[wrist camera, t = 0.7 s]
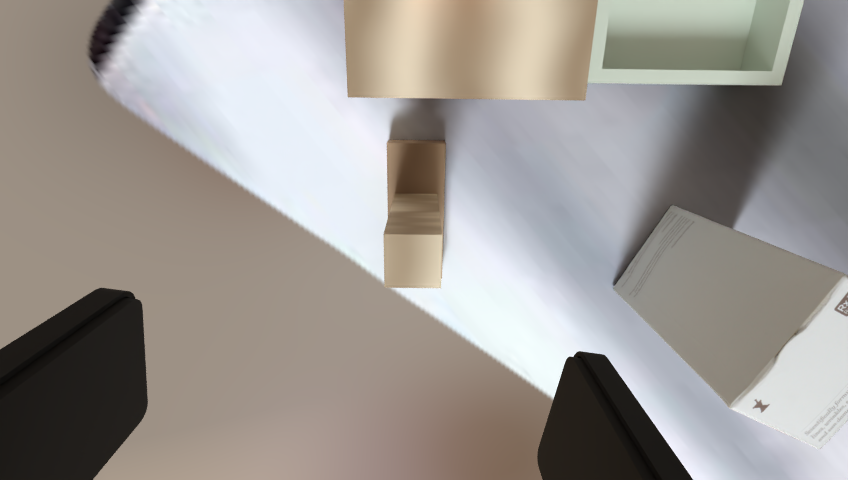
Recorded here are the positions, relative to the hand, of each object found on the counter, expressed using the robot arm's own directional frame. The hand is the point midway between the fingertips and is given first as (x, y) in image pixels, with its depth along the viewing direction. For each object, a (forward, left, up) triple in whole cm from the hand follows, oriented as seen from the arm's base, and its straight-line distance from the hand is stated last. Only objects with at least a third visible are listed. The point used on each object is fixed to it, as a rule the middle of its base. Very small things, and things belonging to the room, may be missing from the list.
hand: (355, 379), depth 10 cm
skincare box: (-21, +6, -24) cm, 33 cm away
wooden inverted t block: (-1, +3, -24) cm, 24 cm away
